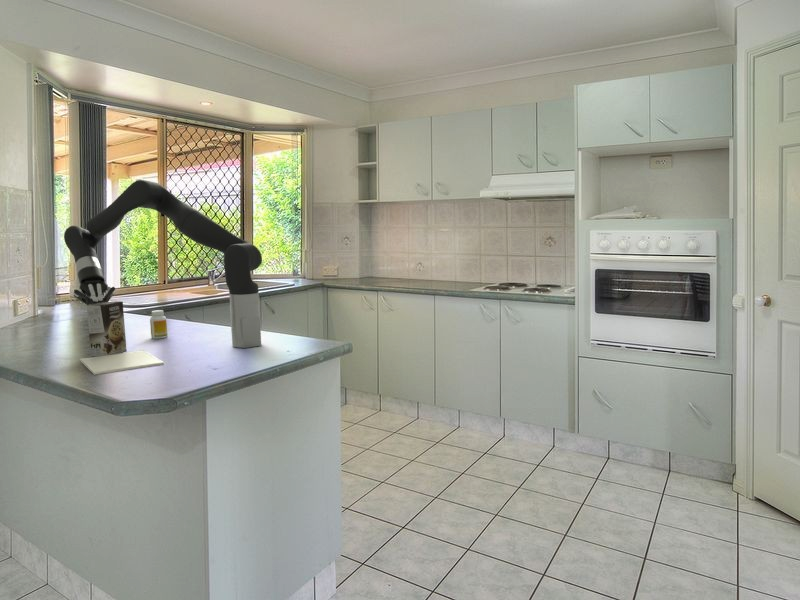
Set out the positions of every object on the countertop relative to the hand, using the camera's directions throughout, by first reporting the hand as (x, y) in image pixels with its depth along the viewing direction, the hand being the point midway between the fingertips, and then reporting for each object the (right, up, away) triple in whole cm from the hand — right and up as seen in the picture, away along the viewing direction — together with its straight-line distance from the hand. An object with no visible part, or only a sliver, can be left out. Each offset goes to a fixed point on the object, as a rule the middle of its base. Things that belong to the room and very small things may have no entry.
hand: (100, 312), depth 192 cm
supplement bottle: (+11, -10, +20) cm, 25 cm away
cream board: (+16, -14, -19) cm, 29 cm away
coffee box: (+6, -13, -6) cm, 16 cm away
